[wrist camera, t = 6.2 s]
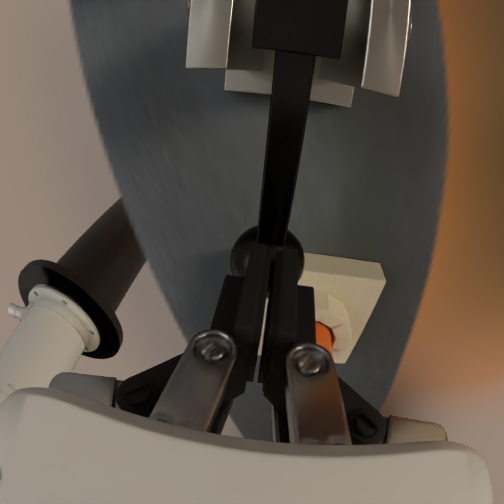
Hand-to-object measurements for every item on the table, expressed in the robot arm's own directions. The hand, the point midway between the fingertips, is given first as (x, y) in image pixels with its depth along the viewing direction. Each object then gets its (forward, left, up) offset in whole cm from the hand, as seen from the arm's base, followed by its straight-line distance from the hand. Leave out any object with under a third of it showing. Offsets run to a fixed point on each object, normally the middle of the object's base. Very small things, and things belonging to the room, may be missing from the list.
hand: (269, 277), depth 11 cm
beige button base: (+3, -10, -9) cm, 14 cm away
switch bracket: (0, +9, -9) cm, 13 cm away
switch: (0, +5, -2) cm, 5 cm away
